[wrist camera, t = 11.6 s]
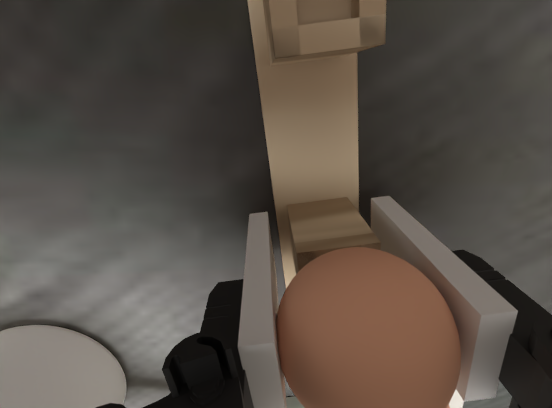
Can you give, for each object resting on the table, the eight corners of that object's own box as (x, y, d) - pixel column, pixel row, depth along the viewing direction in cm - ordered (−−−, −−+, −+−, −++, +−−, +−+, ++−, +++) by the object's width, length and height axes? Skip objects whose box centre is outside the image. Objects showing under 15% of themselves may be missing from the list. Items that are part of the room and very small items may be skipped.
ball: (263, 229, 9) (265, 358, 5) (409, 210, 9) (539, 322, 5) (280, 337, 10) (292, 500, 6) (402, 321, 10) (493, 474, 6)
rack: (242, -41, 10) (227, -131, 6) (350, -56, 10) (415, -156, 6) (297, 374, 17) (308, 463, 13) (357, 366, 17) (387, 453, 13)
